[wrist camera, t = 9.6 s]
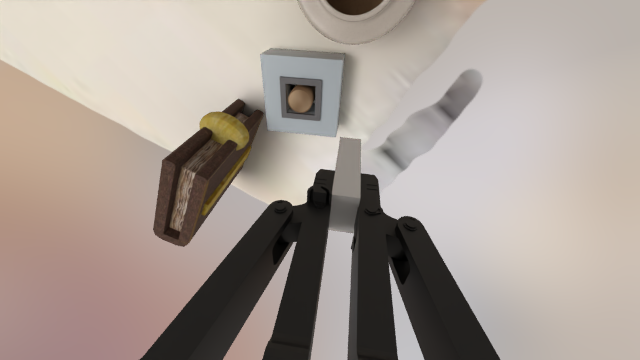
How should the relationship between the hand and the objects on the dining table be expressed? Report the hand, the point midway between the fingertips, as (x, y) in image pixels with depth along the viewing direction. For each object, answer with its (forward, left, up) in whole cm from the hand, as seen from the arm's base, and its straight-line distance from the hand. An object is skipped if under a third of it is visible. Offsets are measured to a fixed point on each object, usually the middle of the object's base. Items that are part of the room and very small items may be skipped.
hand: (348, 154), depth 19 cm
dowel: (-9, -6, -33) cm, 35 cm away
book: (-25, -18, -34) cm, 46 cm away
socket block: (-9, -6, -34) cm, 36 cm away
